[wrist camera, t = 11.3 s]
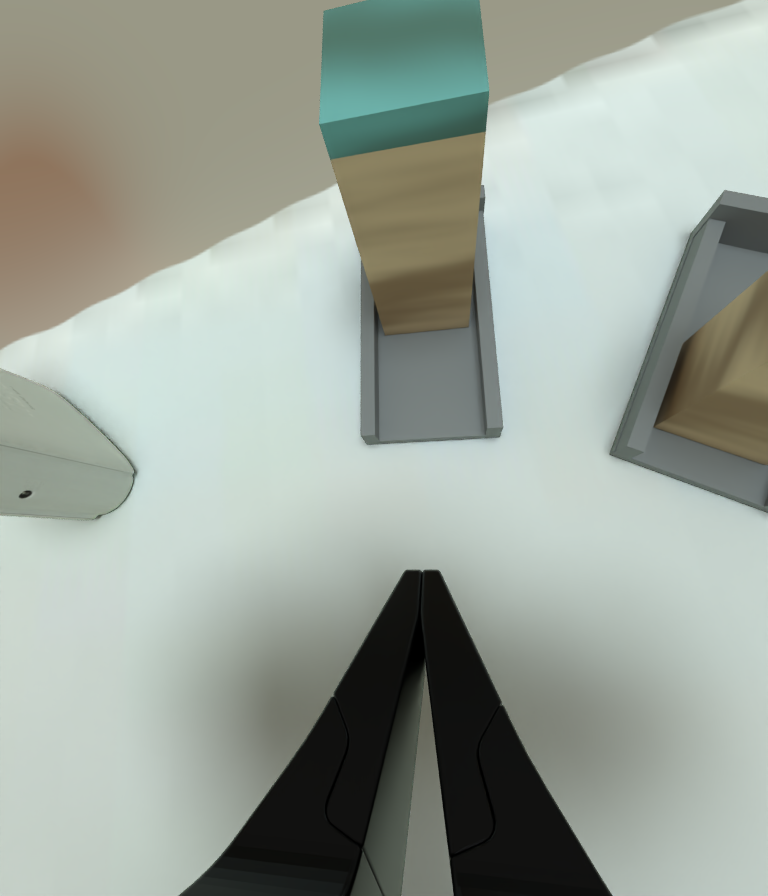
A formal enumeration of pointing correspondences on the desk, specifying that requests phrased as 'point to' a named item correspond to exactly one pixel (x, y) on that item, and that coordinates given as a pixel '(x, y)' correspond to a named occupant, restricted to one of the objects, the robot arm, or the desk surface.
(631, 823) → the desk surface
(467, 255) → the oak key
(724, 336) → the oak key
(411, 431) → the slate track
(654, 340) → the slate track
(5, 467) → the photo printer
